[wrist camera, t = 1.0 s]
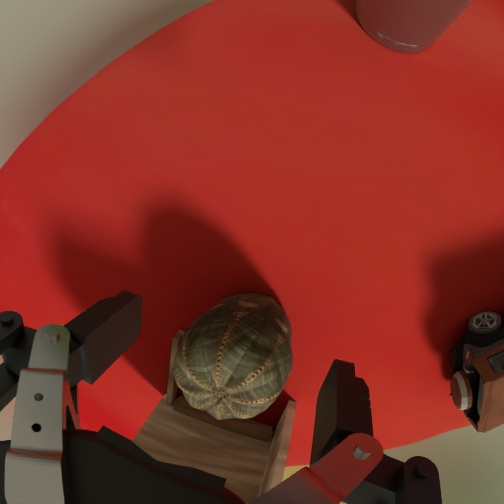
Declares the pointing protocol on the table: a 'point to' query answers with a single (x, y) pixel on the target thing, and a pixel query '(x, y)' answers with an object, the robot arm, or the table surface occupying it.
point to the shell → (235, 357)
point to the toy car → (480, 371)
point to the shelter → (217, 441)
